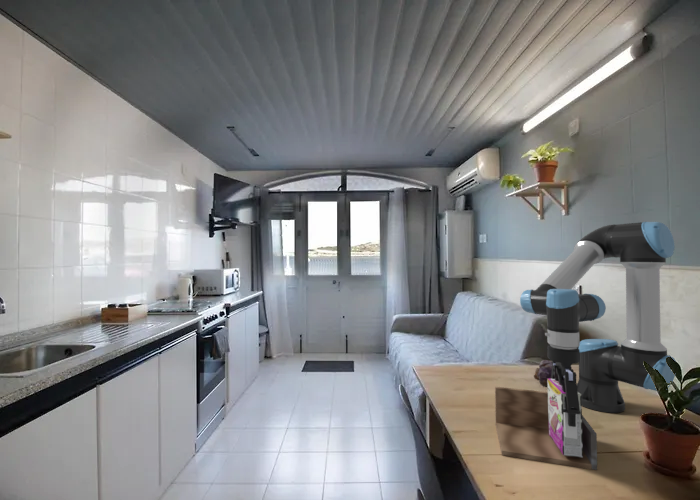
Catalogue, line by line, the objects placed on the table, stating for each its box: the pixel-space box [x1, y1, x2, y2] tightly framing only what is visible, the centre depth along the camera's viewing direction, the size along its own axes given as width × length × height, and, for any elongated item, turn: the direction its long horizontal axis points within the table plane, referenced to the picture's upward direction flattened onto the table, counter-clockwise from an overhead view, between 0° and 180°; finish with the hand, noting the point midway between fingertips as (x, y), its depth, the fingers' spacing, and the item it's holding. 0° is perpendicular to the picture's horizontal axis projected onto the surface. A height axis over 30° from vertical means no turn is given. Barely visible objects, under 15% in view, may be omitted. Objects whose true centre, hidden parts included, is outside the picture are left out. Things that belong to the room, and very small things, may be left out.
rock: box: [533, 359, 552, 387], centre depth 148 cm, size 12×9×10 cm
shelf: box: [494, 386, 598, 471], centre depth 99 cm, size 22×18×12 cm
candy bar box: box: [546, 378, 583, 458], centre depth 95 cm, size 11×5×16 cm, turn 168°
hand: (564, 426), depth 95 cm, fingers closed on candy bar box, 11 cm apart
